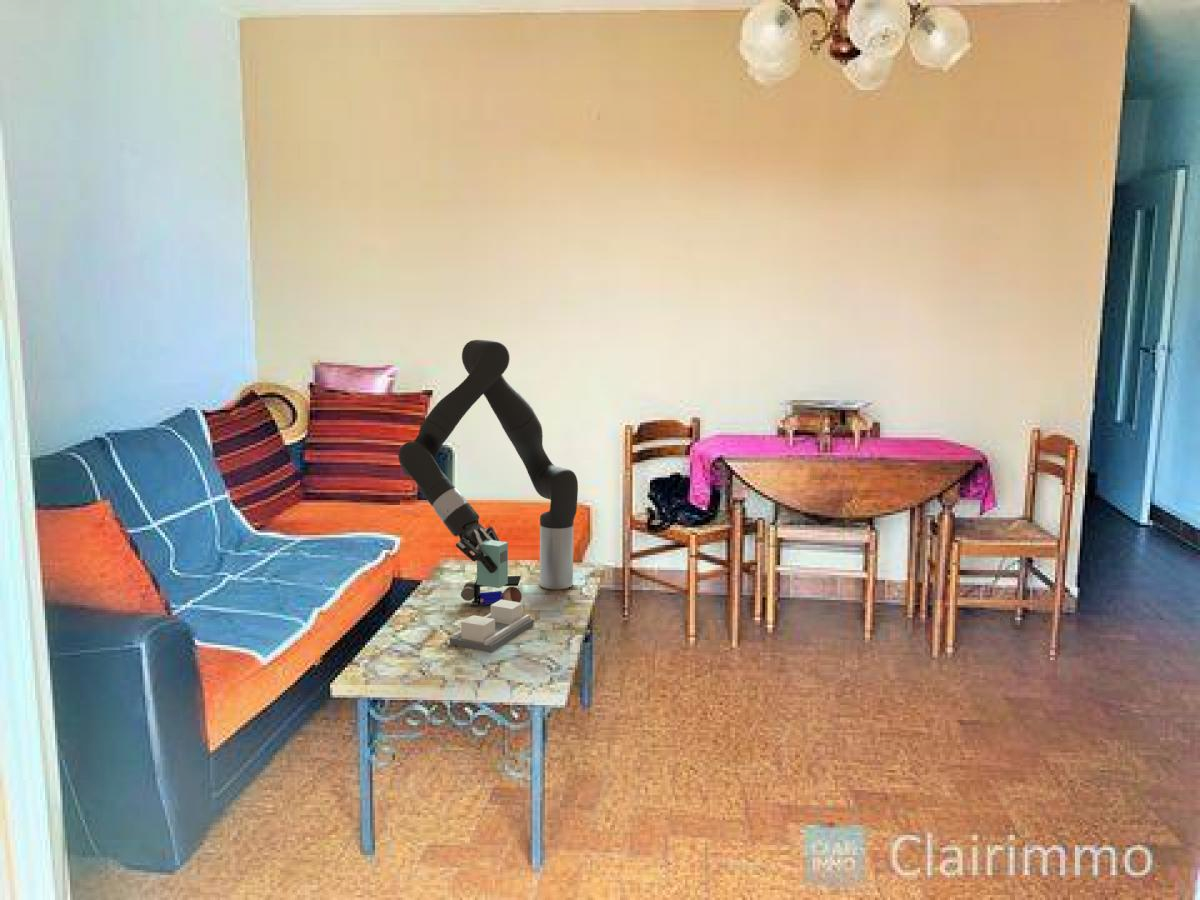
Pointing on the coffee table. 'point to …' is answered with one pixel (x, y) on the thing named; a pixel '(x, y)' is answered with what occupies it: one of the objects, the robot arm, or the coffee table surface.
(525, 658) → the coffee table surface
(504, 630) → the rail board
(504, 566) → the block
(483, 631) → the mounted blocks
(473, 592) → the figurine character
